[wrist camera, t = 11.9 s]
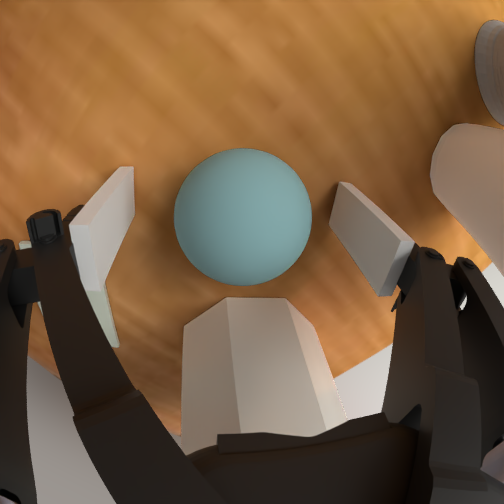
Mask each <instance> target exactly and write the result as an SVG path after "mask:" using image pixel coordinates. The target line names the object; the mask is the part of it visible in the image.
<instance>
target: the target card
mask: <svg viewBox="0 0 504 504" xmlns="http://www.w3.org/2000/svg"><path fill="white" fill-rule="evenodd" d="M19 247H20V249H26V248H30V247H31V241H21V242H20V243H19ZM86 294H87V296H88V298H89V301H90V303H91V305H92V307H93V310H94V312H95V314H96V316H97V318H98V321H99V323H100V325H101V327H102V329H103V331H104V333H105V335H106V337H107V339H108V341H109V343H110V345H111V347H117V348H119V345H120V343H119V339H118V336H117V332H116V328H115V324H114V320H113V316H112V312H111V308H110V303H109V299H108V294H107V289H106V284H105V282H104V285H103V287H102V290H101V292H98V291H86ZM38 304H39V307H40V310H41V312H42V308H41V304H40V302H38ZM42 315H43V313H42Z"/></svg>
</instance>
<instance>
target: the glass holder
mask: <svg viewBox="0 0 504 504" xmlns="http://www.w3.org/2000/svg"><path fill="white" fill-rule="evenodd" d="M475 69H476V76H477V81H478V86H479V89H480V93H481V96H482V98H483V101H484V103H485V105H486V107H487V109H488V111H489V112H490V114H491V115H492V117H493V118H494V119H495V120H496V121H497V122H498V123H500V124H501V125H504V23H503V22H501V21H498V20H490V21H487V22H486V23H484V24H483V26H482V27H481V28H480V30H479V32H478V35H477V39H476V43H475Z"/></svg>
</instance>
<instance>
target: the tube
mask: <svg viewBox="0 0 504 504" xmlns="http://www.w3.org/2000/svg"><path fill="white" fill-rule="evenodd" d="M346 421H348V420H347V417H346V414H345V411H344V408H343V405H342V402H341V399H340V397H339V394H338V391H337V388H336V386H335V383H334V381H333V377H332V374H331V372H330V369H329V366H328V363H327V361H326V358H325V355H324V352H323V350H322V347H321V344H320V342H319V339H318V336H317V334H316V331H315V328H314V326H313V325H312V324H311V323H310V322H309V321H308V320H307V319H306V318H305V317H304V316H303V315H302V314H301V313H300V312H299V311H298V310H297V309H296V308H295V307H294V306H293V305H292V304H291V303H290V302H289V301H288V300H287V299H286V298H238V297H226V298H224V299H223V300H222V301H220V302H219V303H217V304H216V305H214V306H213V307H211V308H210V309H208V310H207V311H205V312H204V313H202V314H201V315H199V316H198V317H196V318H195V319H193V320H192V321H190V322H189V323H188V324H186V325H185V326H184V333H183V356H182V393H181V442H182V443H181V444H182V451H183V452H184V454H185V455H188V454H191V453H193V452H195V451H197V450H200V449H202V448H205V447H209V446H213V445H216V442H217V434H238V433H256V432H268V433H276V434H284V435H293V436H304V437H312V436H316V435H318V434H321V433H323V432H325V431H327V430H330V429H332V428H334V427H336V426H338V425H340V424H342V423H344V422H346Z"/></svg>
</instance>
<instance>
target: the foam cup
mask: <svg viewBox="0 0 504 504" xmlns="http://www.w3.org/2000/svg"><path fill="white" fill-rule="evenodd" d="M430 179H431V183H432V188H433V193H434V194H435V195H436V197H437V198H438V199H439V200H440V202H441V203H442V204H443V205H444V206H445V207H446V209H447V210H448V211H449V212H450V213H451V214H452V215H453V216H454V217H455V218H456V219H457V220H458V221H459V223H460V224H461V225H462V226H463V227H464V228H465V229H466V230H467V232H468V233H469V234H470V235H471V236H472V237H473V238H474V240H475V241H476V242H477V243H478V244H479V246H480V247H481V248H482V249H483V250H484V252H485V253H486V254H487V255H488V257H489V258H490V259H491V260H492V262H493V263H494V264H495V265H496V267H497V268H498V269H499V271H500V272H501V274H502V275H503V276H504V130H503V129H498V128H494V127H489V126H483V125H478V124H469V123H462V124H456V125H453V126H452V127H451V128H450V129H449V130H447V131H446V132H445V133H444V134H443V135H442V136H441V138H440V140H439V142H438V144H437V146H436V148H435V150H434V152H433V154H432V162H431V170H430Z"/></svg>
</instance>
